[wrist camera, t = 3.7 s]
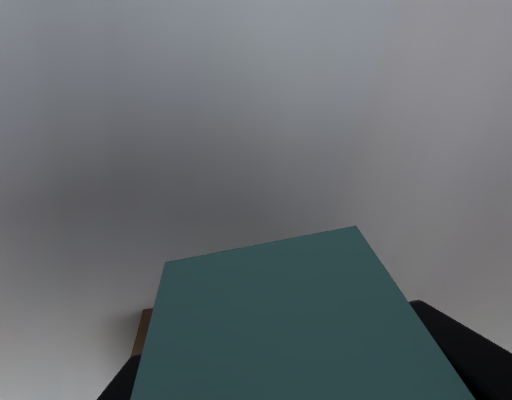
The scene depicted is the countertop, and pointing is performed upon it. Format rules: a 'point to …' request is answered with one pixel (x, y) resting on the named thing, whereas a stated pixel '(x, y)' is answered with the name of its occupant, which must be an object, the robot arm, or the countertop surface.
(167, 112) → the countertop surface
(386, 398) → the tile
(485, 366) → the robot arm
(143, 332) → the tile
